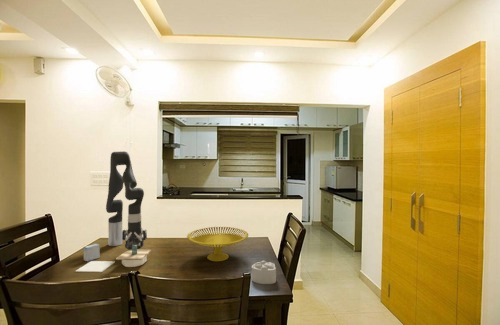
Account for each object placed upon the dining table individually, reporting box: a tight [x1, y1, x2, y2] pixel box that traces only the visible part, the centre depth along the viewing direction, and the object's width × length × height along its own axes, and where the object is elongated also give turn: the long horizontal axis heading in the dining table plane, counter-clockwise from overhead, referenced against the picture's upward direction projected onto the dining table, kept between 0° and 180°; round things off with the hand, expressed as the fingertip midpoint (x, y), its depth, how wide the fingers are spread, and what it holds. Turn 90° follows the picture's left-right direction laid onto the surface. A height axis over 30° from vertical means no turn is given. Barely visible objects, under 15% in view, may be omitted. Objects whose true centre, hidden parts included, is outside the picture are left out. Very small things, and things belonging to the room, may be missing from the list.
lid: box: [115, 245, 152, 261], centre depth 160 cm, size 15×15×6 cm
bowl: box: [121, 254, 148, 268], centre depth 160 cm, size 13×13×5 cm
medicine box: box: [83, 243, 101, 263], centre depth 166 cm, size 8×4×9 cm, turn 149°
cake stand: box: [186, 226, 249, 262], centre depth 171 cm, size 40×40×15 cm
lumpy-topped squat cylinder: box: [250, 260, 277, 285], centre depth 141 cm, size 10×13×9 cm
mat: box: [75, 260, 116, 273], centre depth 154 cm, size 14×15×1 cm
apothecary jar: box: [124, 226, 145, 250], centre depth 177 cm, size 12×12×18 cm
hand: (134, 246), depth 160 cm, fingers open, 8 cm apart
